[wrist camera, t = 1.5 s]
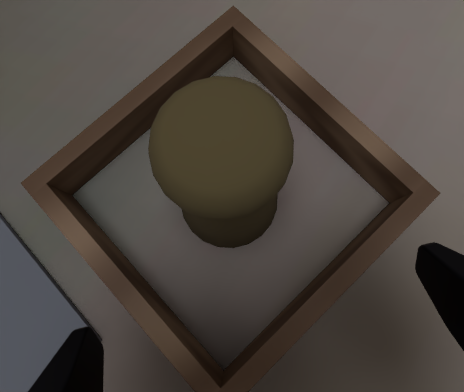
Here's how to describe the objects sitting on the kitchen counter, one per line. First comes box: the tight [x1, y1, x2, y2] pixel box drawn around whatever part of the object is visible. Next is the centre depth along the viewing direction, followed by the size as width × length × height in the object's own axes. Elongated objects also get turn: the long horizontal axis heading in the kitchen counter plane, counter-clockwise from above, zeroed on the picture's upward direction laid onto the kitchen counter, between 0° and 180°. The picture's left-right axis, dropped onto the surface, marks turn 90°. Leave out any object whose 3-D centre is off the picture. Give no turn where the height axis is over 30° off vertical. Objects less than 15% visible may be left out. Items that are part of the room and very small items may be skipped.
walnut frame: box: [21, 6, 440, 392], centre depth 20 cm, size 16×16×3 cm
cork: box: [148, 76, 294, 248], centre depth 16 cm, size 6×6×11 cm
